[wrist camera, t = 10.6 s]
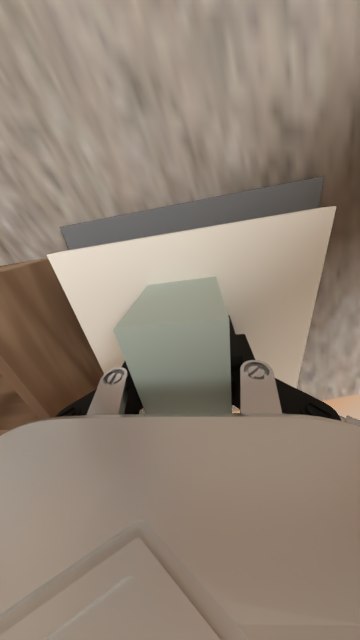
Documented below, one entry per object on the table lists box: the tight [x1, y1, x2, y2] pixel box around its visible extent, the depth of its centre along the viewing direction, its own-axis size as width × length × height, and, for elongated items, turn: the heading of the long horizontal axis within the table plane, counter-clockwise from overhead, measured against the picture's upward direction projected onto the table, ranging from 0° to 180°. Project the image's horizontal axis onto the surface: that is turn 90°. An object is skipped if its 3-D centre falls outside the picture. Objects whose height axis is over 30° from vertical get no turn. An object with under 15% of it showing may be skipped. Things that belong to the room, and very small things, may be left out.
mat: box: [60, 176, 325, 250], centre depth 16 cm, size 18×16×1 cm
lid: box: [47, 206, 336, 414], centre depth 11 cm, size 15×13×7 cm
